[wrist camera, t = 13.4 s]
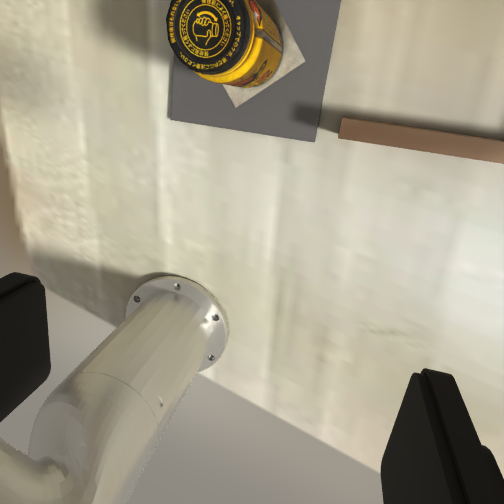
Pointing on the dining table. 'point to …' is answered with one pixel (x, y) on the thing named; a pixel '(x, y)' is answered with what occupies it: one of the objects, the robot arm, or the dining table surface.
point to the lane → (422, 139)
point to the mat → (275, 95)
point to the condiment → (233, 43)
